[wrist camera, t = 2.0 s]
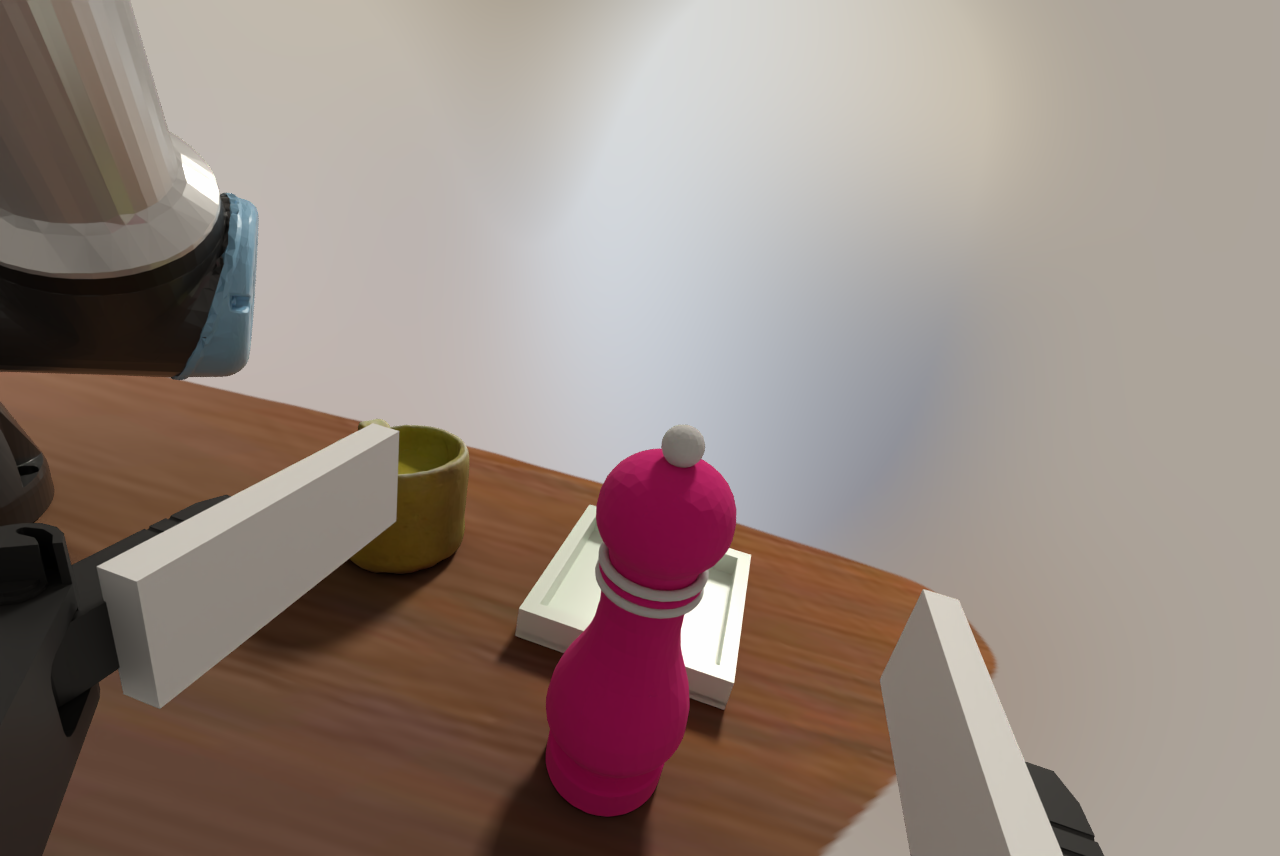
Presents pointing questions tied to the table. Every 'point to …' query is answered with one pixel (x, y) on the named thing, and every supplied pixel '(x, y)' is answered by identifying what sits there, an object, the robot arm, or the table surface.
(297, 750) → the table surface
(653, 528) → the pepper mill
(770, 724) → the table surface
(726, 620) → the tray
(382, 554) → the mug
